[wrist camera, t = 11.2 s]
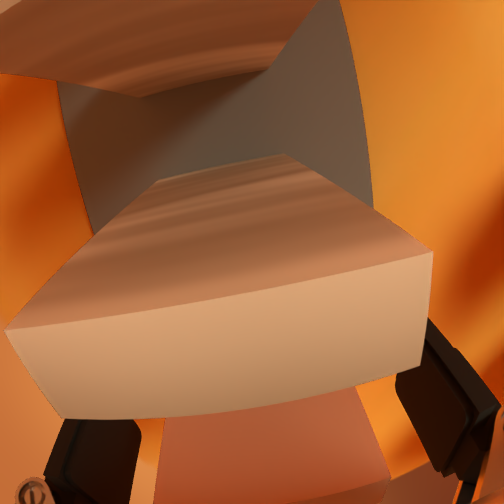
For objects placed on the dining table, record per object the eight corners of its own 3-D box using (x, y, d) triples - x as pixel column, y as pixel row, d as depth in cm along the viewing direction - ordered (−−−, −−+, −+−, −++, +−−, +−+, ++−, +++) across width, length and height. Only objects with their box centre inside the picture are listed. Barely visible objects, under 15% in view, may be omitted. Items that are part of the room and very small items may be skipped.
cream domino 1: (132, 61, 10) (-59, -24, 1) (260, 32, 10) (334, -152, 1) (139, 97, 11) (-68, 70, 2) (268, 69, 11) (379, -71, 2)
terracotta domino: (190, 289, 14) (152, 510, 5) (302, 268, 14) (391, 476, 5) (199, 319, 15) (178, 531, 6) (306, 299, 15) (381, 502, 5)
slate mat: (55, -89, 6) (52, -92, 6) (280, -142, 6) (281, -146, 6) (161, 384, 17) (160, 389, 16) (372, 344, 17) (374, 349, 16)
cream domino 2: (158, 179, 12) (3, 330, 3) (284, 153, 12) (433, 252, 3) (168, 217, 13) (61, 418, 4) (290, 192, 13) (420, 365, 4)
